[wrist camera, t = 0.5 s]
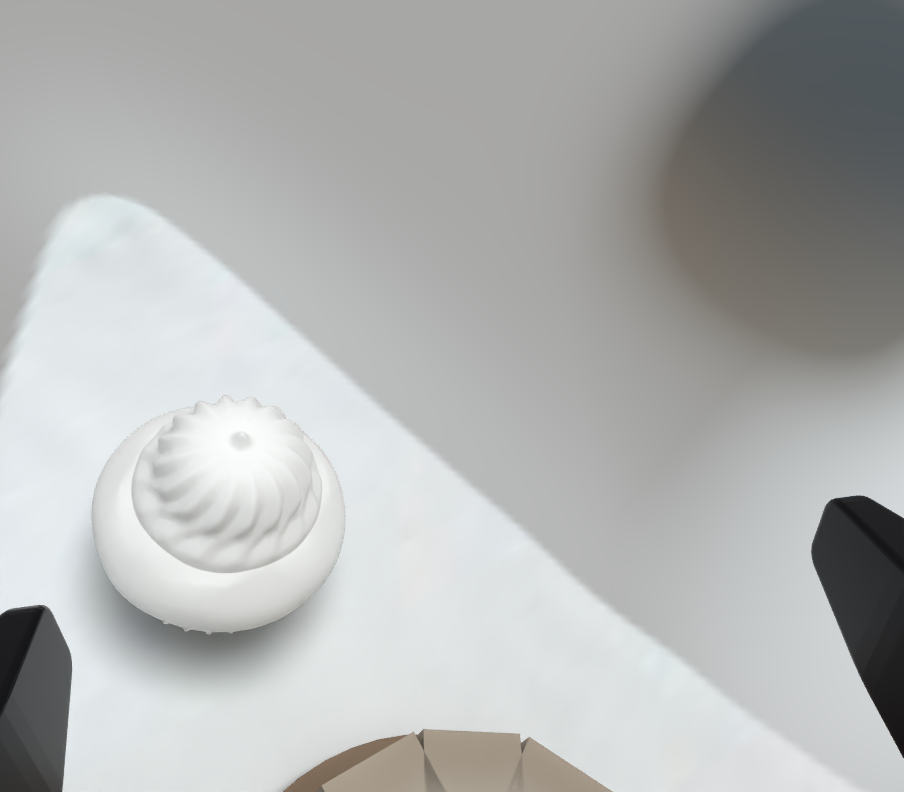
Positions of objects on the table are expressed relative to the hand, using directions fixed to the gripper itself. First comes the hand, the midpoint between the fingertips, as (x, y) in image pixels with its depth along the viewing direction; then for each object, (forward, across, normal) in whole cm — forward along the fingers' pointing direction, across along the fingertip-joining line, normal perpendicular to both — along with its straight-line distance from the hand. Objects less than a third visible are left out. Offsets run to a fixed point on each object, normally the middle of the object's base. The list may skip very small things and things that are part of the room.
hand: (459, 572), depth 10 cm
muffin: (+10, +6, +11) cm, 16 cm away
